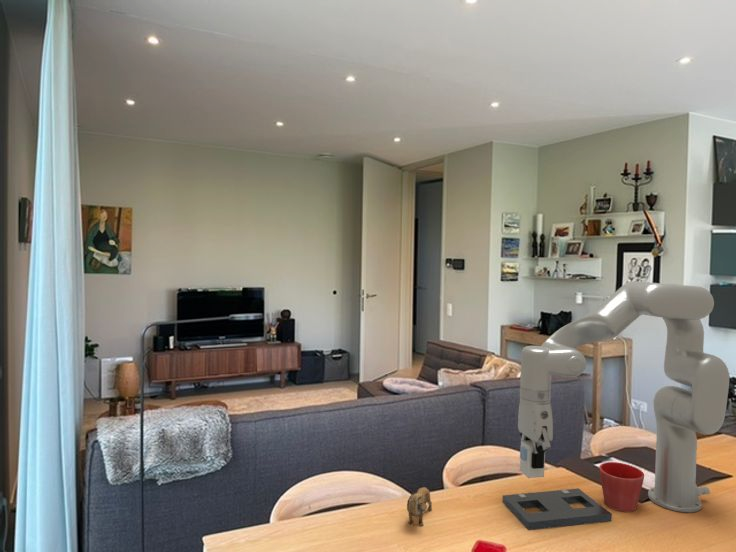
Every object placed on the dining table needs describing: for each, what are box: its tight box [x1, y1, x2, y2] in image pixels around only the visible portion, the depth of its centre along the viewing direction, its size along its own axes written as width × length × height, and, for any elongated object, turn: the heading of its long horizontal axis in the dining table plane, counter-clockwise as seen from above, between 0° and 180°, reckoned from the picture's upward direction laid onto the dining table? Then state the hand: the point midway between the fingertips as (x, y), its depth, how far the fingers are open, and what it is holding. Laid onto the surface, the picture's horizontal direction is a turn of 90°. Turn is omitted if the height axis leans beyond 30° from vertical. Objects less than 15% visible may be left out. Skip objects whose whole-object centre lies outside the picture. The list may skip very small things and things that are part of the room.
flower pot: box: [598, 461, 645, 513], centre depth 136 cm, size 11×11×10 cm
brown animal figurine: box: [406, 486, 433, 527], centre depth 129 cm, size 15×5×9 cm, turn 166°
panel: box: [502, 488, 613, 531], centre depth 133 cm, size 23×14×2 cm, turn 101°
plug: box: [519, 440, 546, 479], centre depth 131 cm, size 5×4×8 cm
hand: (532, 463), depth 131 cm, fingers closed on plug, 4 cm apart
